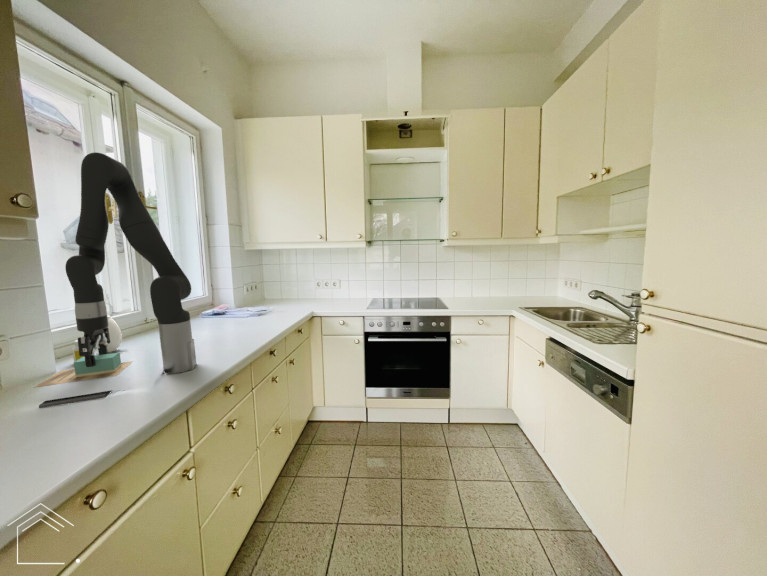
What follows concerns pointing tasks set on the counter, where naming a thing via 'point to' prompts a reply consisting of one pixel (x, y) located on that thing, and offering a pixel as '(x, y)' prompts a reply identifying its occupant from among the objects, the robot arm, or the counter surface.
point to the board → (70, 376)
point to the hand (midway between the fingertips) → (97, 362)
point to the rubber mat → (74, 399)
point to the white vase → (114, 335)
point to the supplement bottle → (76, 351)
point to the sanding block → (98, 365)
